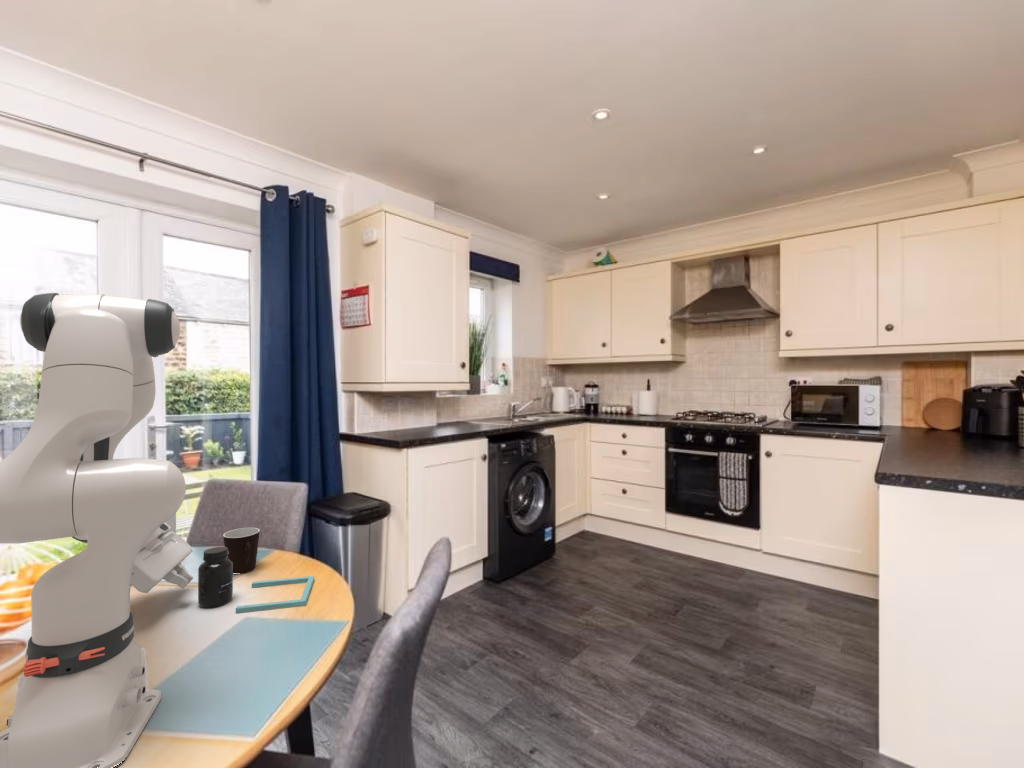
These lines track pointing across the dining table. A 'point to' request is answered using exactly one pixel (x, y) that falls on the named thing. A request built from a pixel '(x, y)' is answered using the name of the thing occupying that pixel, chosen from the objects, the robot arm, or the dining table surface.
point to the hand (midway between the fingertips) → (188, 583)
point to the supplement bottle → (215, 578)
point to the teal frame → (283, 603)
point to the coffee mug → (242, 548)
